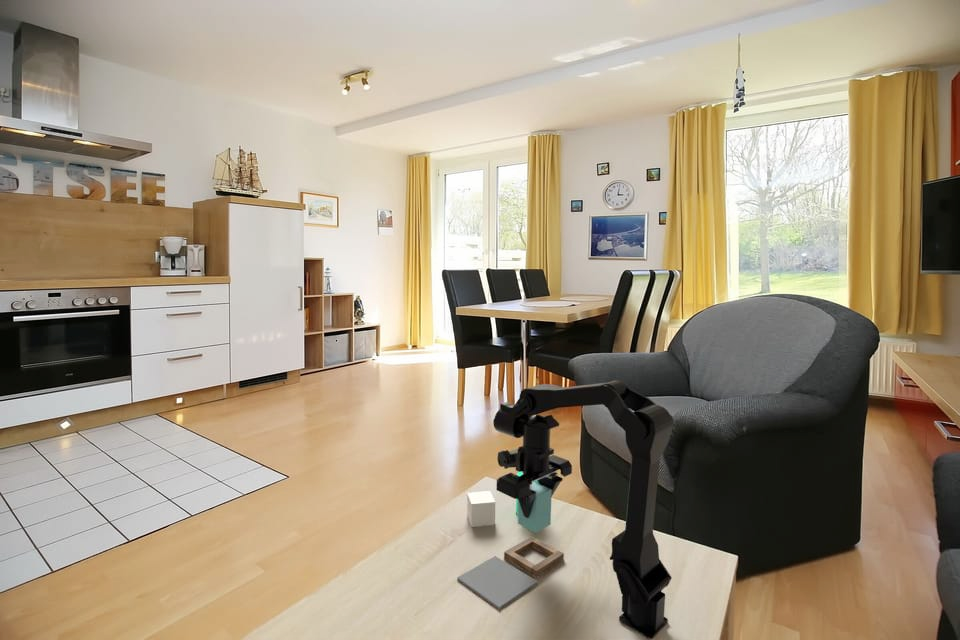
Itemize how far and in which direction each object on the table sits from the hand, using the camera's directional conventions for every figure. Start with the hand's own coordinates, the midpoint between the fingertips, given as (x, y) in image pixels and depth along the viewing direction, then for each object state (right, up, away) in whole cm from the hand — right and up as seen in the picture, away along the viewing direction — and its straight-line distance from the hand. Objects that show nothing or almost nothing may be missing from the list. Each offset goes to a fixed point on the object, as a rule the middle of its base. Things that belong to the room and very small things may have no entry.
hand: (534, 512), depth 109 cm
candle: (+1, -8, +21) cm, 23 cm away
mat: (-8, -12, -7) cm, 16 cm away
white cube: (-12, -9, +18) cm, 23 cm away
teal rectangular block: (0, -3, 0) cm, 3 cm away
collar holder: (0, -11, +1) cm, 11 cm away
